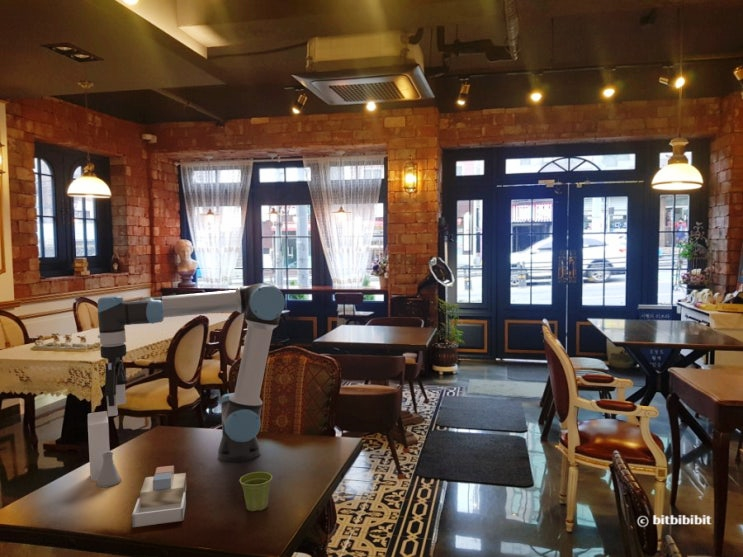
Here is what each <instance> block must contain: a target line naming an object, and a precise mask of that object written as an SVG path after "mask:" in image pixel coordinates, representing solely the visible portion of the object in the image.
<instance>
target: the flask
mask: <svg viewBox="0 0 743 557" xmlns="http://www.w3.org/2000/svg"><path fill="white" fill-rule="evenodd" d="M113 455H114V451H110V452H105V453H103V454H102V456H103V466H102V469H101V472H100V475H99V478H98V480H96V481H97V482H96V484H95V486H97V487H100V488H107V487H113V486H115V485H118V484H119V483H121V481H122V478H121V475H120V473H119V472H118V470H117V467H116V465H115V463H114V458H113Z"/></svg>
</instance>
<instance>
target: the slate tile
mask: <svg viewBox="0 0 743 557" xmlns="http://www.w3.org/2000/svg"><path fill="white" fill-rule="evenodd" d="M153 477H154V478H153V490H161V489H169V488H171V486H172V482H173V479H172V472H168V473H160V474H155V473H154V476H153Z"/></svg>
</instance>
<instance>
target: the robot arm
mask: <svg viewBox="0 0 743 557" xmlns="http://www.w3.org/2000/svg"><path fill="white" fill-rule="evenodd" d="M285 305H286V302H285V297H284V294H283V292H282V291H281V289H280V288H278V287H277V286H276V285H273V284H270V283H265V282H261V283H255V284H250V285H246V286H237V287H236V288H235V289H233V290H223V291H222V290H221V291H210V292H209V291H208V292H198V293H188V294H187V293H185V294H176V295H175V294H174V295H163V296H154V297H153V296H144V297H143V298H142V297H141V298H140V299H138V300H137V301H135V300H133V301H124V298H123V296H121V295H113V296H111V295H110V296H102V297H99V298H98V300H97V320H98V321H97V322H98V332H99V334H98V335H97V338H98V339H99V343H100V345H101V346H100V347H99V348H100V357H101V359H107V360H108V361H107V363H105V365H104V367H105V380H104V383H105V384H104V393H103V397H106V404H107V405H106V406H107V416H108V417H114V416H115V417H117V416H118V415H119V412H118V405H126V404H127V396H126V385H127V384H128V379H127V378H126V374H125V373H126V372H125V368H124V362H123V360H124V359H123V357H125V356H127V345H126V342H127V338H126V328H125V327H126V326H131V325H142V324H143V325H145V324H152V325H153V324H157V323H162V322H163V321H164V319H165V318H173V317H176V318H177V317H184V316H185V317H186V316H197V315H206V314H215V313H216V314H217V313H227V312H229V313H230V312H238V313H239V314H245V316H244V321H245V322H246V324H247V329H246V334H245V340H244V344H243V349H242V353H241V354H242V355H241V359H240V363H239V370H238V374H237V379H236V384H235V388H234V392H231V393H230V392H229V393H225V394H223V395H222V396H221V401H220V405H221V429H222V434H221V435H222V437H221V439H220V443H219V447H218V450H217V458H218V459H219V460H220V461H222V462H227V463H241V462H246V461H250V460H254V459H255V458H257V457H258V456H259V455H260V454H261V447H260V444H259V443H260V442H259V441H258V438H257V435H258V434H259V432H260V429H261V424H262V423H261V422H262V421H261V414H262V407H263V401H262V399H261V397H260V395H261V391H262V384H263V380H264V375H265V369H266V365H267V360H268V355H269V350H270V345H271V341H272V336H273V330H274V329H275V328H277V327H278V326H279V322H280V318H281V314H282V313H283V311H284V309H285Z"/></svg>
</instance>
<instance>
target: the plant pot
mask: <svg viewBox="0 0 743 557" xmlns="http://www.w3.org/2000/svg"><path fill="white" fill-rule="evenodd" d="M238 480H239V481H238V482H239V483H240V485H241V488H242V490H243V496H244V497H243V498H244V501H245V508H246V509H247V510H248V511H250V512H255V511H263V510H265V509H267V507H268V505H269V495H270V486H271V481H272V480H273V475H272V474H271V473H269V472H266V471H253V472H249V473H245V474H244V475H243V476H240V479H238Z"/></svg>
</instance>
